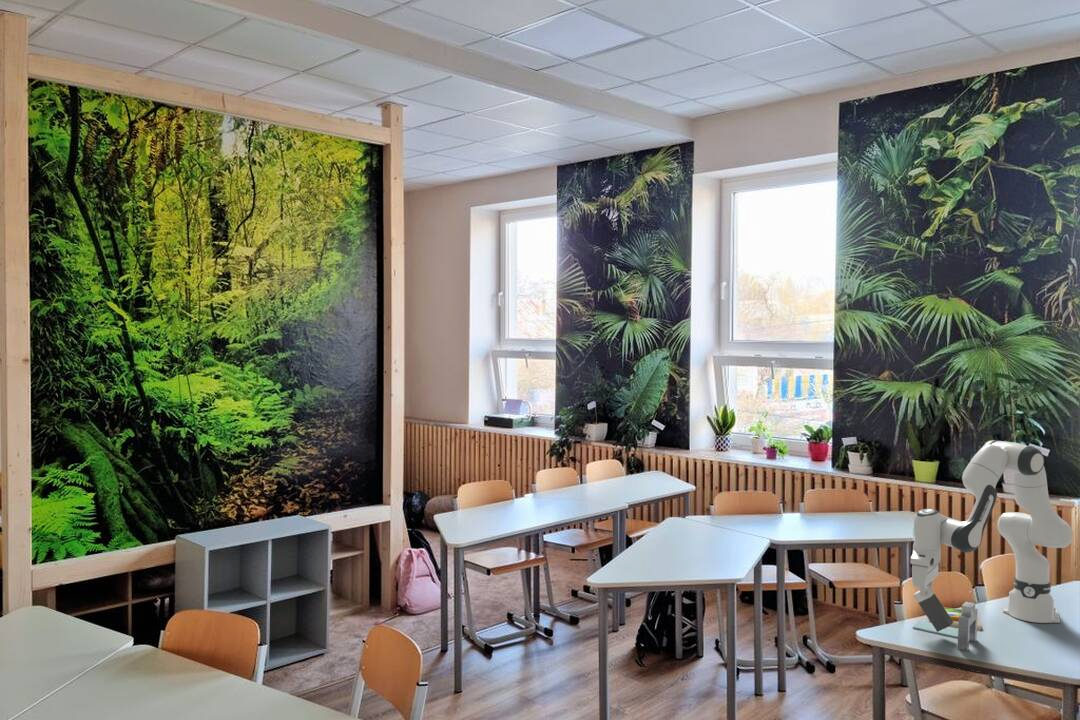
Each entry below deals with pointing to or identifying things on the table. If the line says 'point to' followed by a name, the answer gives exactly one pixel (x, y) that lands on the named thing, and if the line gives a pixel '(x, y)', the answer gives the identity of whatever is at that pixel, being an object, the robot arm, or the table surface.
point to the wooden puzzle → (955, 615)
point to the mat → (930, 628)
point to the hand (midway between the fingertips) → (925, 593)
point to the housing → (967, 626)
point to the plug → (933, 609)
